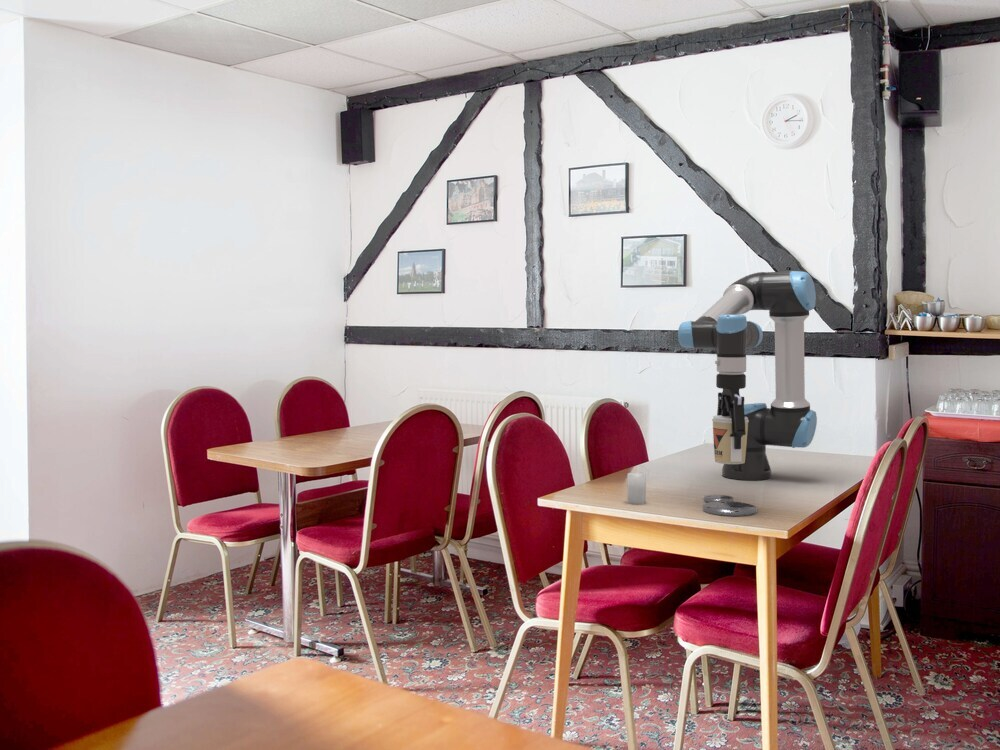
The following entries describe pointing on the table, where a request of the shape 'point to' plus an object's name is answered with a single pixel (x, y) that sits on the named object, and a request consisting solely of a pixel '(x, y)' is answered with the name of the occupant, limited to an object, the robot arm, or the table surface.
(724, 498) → the flange small
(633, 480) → the grey cylinder
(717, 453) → the coffee cup
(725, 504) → the disc
